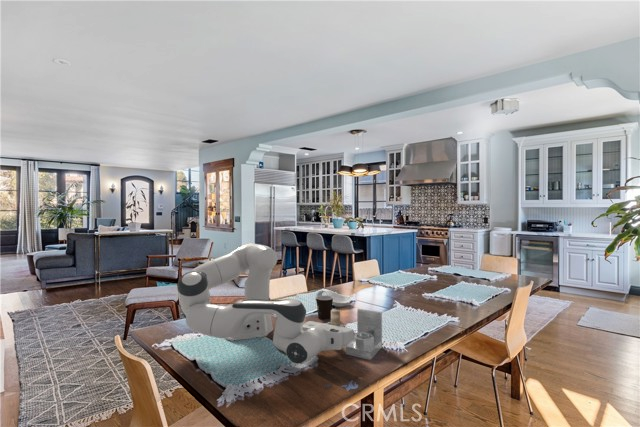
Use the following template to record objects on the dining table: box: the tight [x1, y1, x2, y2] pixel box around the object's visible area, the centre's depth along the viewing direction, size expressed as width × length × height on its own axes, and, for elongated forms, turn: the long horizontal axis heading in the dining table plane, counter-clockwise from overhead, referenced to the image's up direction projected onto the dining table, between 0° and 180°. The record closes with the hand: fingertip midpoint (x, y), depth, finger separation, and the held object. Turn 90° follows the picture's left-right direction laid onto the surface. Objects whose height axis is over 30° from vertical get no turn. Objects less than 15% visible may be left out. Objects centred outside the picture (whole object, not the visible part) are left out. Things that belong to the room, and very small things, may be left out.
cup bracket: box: [345, 308, 383, 361], centre depth 132 cm, size 12×10×14 cm
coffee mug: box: [315, 294, 333, 321], centre depth 173 cm, size 12×9×10 cm
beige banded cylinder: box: [330, 309, 341, 326], centre depth 136 cm, size 4×4×14 cm
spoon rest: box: [315, 288, 352, 308], centre depth 196 cm, size 24×12×7 cm, turn 45°
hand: (336, 325), depth 136 cm, fingers closed on beige banded cylinder, 4 cm apart
